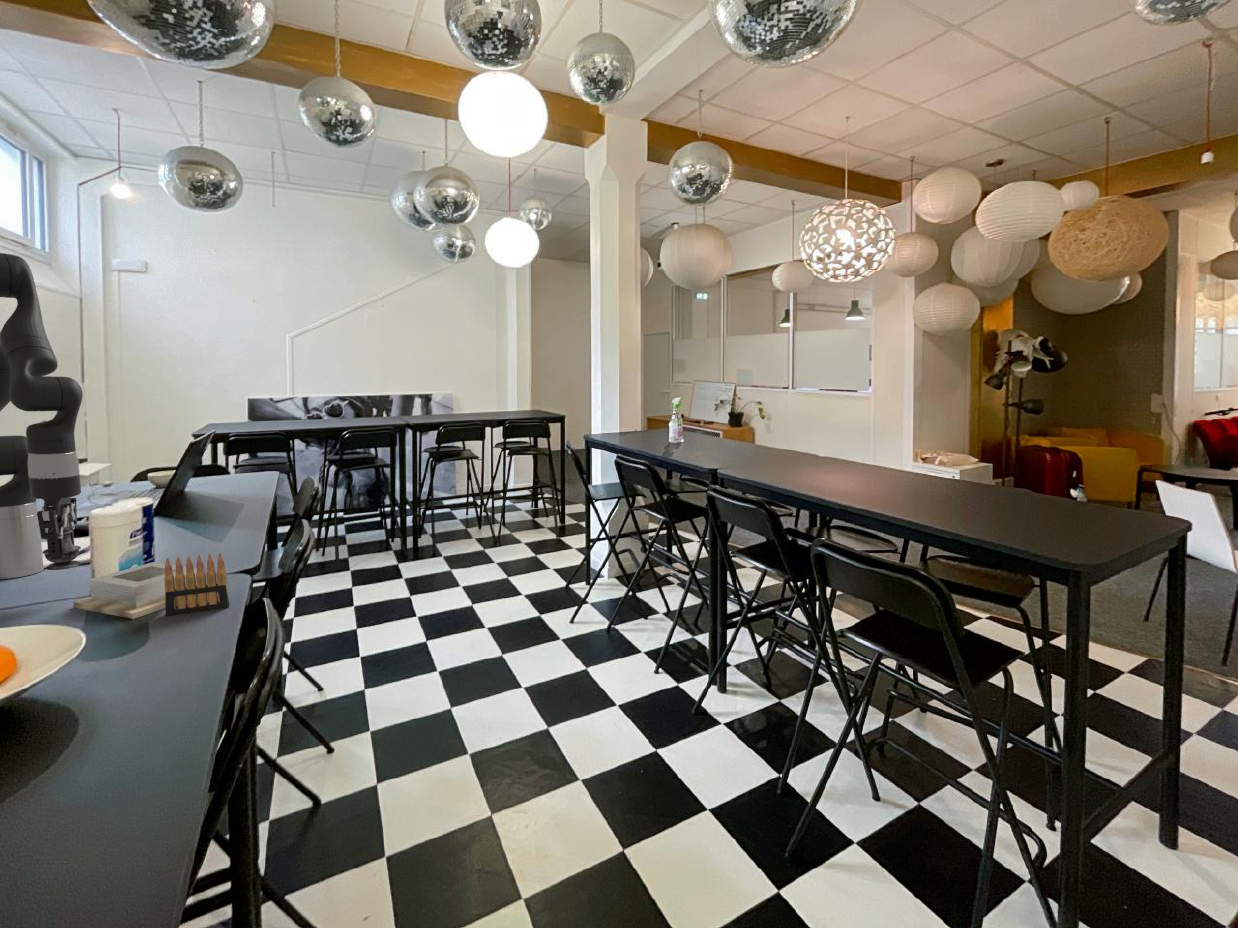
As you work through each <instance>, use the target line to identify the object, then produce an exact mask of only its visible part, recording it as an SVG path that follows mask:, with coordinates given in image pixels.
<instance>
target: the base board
mask: <svg viewBox="0 0 1238 928" xmlns="http://www.w3.org/2000/svg"><path fill="white" fill-rule="evenodd" d="M186 596H187V595H186ZM72 604H73V608H74V609H79V610H84V611H85V610H86V611H91V612H96V613H101V614H105V615H111V616H116V617H122V618H127V619H131V620H135V619H137V618H140V617H143V616H146V615H149V614H152V613H154V612H157V611H161V610H163V609H165V599H163V600H160V601H157V602H154V603H151V604H148V605H145V606H142V607H139V608H132V607H127V606H121V605H116V604H110V603H105V602H100V601H94V600H91V596H89V597H86V598H82V599H79V600H75V601H73V603H72ZM176 604H177V599H176Z"/></svg>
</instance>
